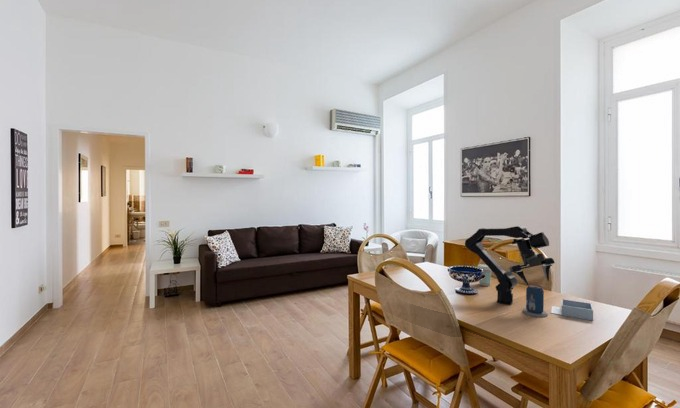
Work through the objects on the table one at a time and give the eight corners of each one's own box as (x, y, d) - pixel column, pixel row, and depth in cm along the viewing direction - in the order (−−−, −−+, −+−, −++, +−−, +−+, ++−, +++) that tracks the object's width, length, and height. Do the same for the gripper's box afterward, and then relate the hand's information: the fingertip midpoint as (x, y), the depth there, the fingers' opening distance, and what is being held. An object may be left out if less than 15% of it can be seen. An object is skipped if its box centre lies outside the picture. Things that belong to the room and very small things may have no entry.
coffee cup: (495, 286, 199) (495, 266, 199) (484, 287, 196) (484, 267, 196) (484, 282, 207) (484, 263, 207) (473, 283, 204) (474, 264, 204)
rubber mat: (521, 314, 151) (521, 313, 151) (523, 308, 159) (523, 307, 159) (547, 318, 145) (547, 317, 145) (547, 312, 154) (547, 311, 154)
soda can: (541, 310, 154) (541, 285, 154) (545, 315, 148) (545, 288, 148) (524, 308, 157) (524, 283, 156) (527, 313, 150) (528, 287, 150)
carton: (551, 313, 152) (551, 303, 152) (552, 304, 165) (552, 295, 165) (593, 320, 144) (593, 310, 144) (590, 310, 156) (590, 301, 156)
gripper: (510, 254, 155) (521, 288, 151) (552, 245, 151) (565, 279, 147) (504, 255, 165) (515, 287, 161) (544, 246, 161) (556, 278, 158)
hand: (537, 283), depth 156 cm, fingers open, 9 cm apart
